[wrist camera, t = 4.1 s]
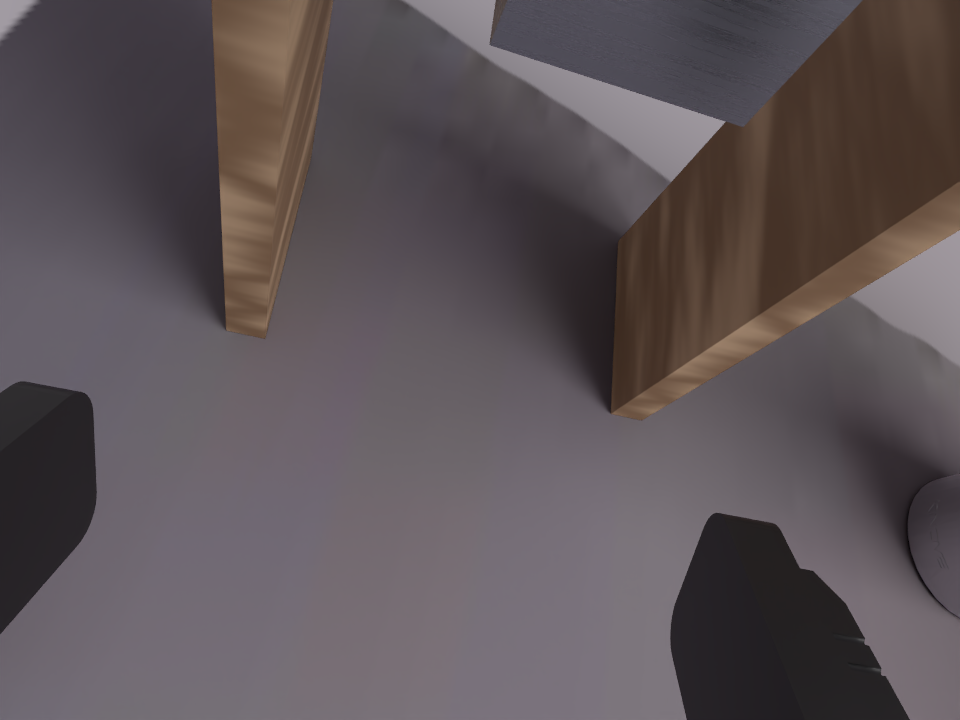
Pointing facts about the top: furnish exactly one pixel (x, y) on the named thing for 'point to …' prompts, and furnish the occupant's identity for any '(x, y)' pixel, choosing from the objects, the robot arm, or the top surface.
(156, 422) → the top surface
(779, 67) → the block
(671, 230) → the oak shelf
